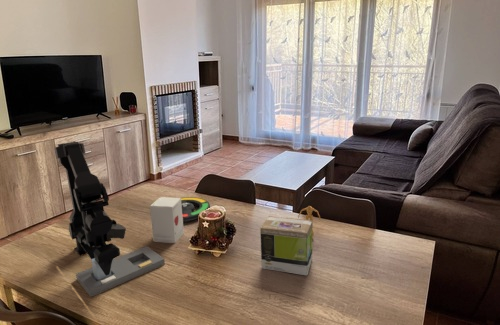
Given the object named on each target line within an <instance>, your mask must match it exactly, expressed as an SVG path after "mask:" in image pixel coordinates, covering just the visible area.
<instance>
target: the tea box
mask: <svg viewBox="0 0 500 325" xmlns="http://www.w3.org/2000/svg"><path fill="white" fill-rule="evenodd" d="M259 229H260V230H259V231H260V258H261V260H260V262H261V269H263V270H271V271H277V272H284V273H290V274H294V275H295V274H296V275H299V276H300V275H301V276H306V277H307V276H308V274H309V271H310V267H311V265H312V261H313V237H312V229H313V221H312V220H310V219H308V220H306V219H305V218H304V219H302V218H292V217H285V216H284V217H283V216H273V215H269V216H268V217H267V218H266V220H265V221H264V222H263V224H262V225H261V226H260V228H259Z"/></svg>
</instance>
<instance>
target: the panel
mask: <svg viewBox="0 0 500 325" xmlns="http://www.w3.org/2000/svg"><path fill="white" fill-rule="evenodd" d="M165 262H166V261H165V258H164V257H162V256H161V255H160V254H159V253H158V252H156V251H154V250H153V249H152V248H150V247H149V246H148V245H146V246H144V247H141V248H138V249H136V250H133V251H130V252H128V253H126V254H123V255H121V256H120V255H119V256H117V257H116V258H114V259H113V260H112V264H111V274H112V275H111V276H108V277H106V278H104V279H101V280H99V281H96V280H95V279H94V274H93V268H92V267H90V268H87V269H84V270H82V271H80V272H77V273H75V277H76V280H77V282H78V283H79V284H80V285H81V287H82V288H83V289H84V291H85V292H86V293H87V294H88V296H89V297H90V298H91V297H92V298H93V296H96V295H99V294H100V293H103V292H106V291H108V290H111V289H112V288H114V287H117V286H118V285H121V284H124V283H126V282H128V281H131V280H132V279H135V278H137V277H139V276H142V275H144V274H147V273H149V272H151V271H154V270H155V269H157V268H161V267H162V266H165V264H166V263H165Z"/></svg>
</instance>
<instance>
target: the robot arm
mask: <svg viewBox="0 0 500 325" xmlns="http://www.w3.org/2000/svg"><path fill="white" fill-rule="evenodd" d="M54 155H55V157H56V159H58V162H59V164H60V165H61V166H62V167H64V169H65V173H66V176H67V178H66V179H67V183H68V187H69V188H68V189H69V194H70V198H71V199H70V200H71V205H72V211H71V213H70V215H69V221H70V223H68V232H69V236H70V238H71V239H72V240H75V243H76V247H74V251H75V252H76V253H77V254H78V255H79V256H83V255H86V254H87V255H88V257H89V258H90V259H94V258H95V260H96V262H97V263H98V265H99V266H100V268H101V269H102V271H103V272H104V274H105V275H106V276H107V275H109V274H110V269H111V264H112V260H113V259H115V258H118V257H120V255H121V251H120V247H118V246H117V245H116V244H114V243H113V242H112V243H111V241H112V239H120V240H122V239H125V236H126V229H127V228H126V227H125V226H124V225H122V224H121V223H117V221H116V220H115V219H111V218H110V216H109V215H108V214H107V212H106V211H105V208H104V207H106V206H107V207H108V206H109V205H110V204H109V200H110V198H109V195H108V192H107V189H106V187H105V185H104V184H103V183H102V182H101V181H100V179H99V178H98V176H97V175H96V174H93V173H92V172H91V170H90V167H89V165H88V163H87V160H86V158H85V155H86V149H85V145H84V143H81V142H79V141H73V142H64V143H59V144H57V147H54ZM107 242H110V243H107Z"/></svg>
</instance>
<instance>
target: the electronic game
mask: <svg viewBox="0 0 500 325" xmlns="http://www.w3.org/2000/svg"><path fill="white" fill-rule="evenodd" d="M180 198H181V205H182V216H183V223H185V222H190V220H191V222H192V221H195V220H197V219H199V218H198V215H199V213H200V212H201V211H203V210H206V209H208V208H210V209H211V204H210V202H209V200H208V201H207V200H206V199H204V198H201V197H196V196H195V197H193V196H190V197H189V196H186V197H185V196H184V197H180ZM194 205H196V206H194ZM198 206H199V208H198V209H196V210H195V207H198Z"/></svg>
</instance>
